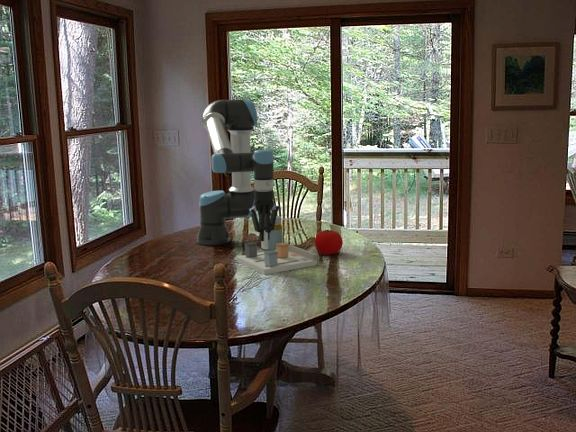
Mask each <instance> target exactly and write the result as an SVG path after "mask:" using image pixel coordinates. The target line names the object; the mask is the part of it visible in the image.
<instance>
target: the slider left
mask: <svg viewBox="0 0 576 432" xmlns="http://www.w3.org/2000/svg"><path fill="white" fill-rule="evenodd" d="M243 245H244V255H245V256H247V257H255V256H257V253H258V243H256V242H254V241H251V242H250V241H249V242H244V244H243Z"/></svg>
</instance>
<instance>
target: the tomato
mask: <svg viewBox="0 0 576 432" xmlns="http://www.w3.org/2000/svg"><path fill="white" fill-rule="evenodd" d="M314 247H315V249H316V251H317V252H318V253H319V254H321V255H324V256H329V255H334V254H337V253H339V252H340V251H341V249H342V248H343V237H342V236H341V234H340V233H339V232H338V231H335V230H334V229H332V230H330V229H325V230H322V231H319V232H318V233H317V235H316V236H315V238H314Z"/></svg>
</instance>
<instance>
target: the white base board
mask: <svg viewBox="0 0 576 432" xmlns="http://www.w3.org/2000/svg"><path fill="white" fill-rule="evenodd" d="M286 243H287V244H289V246H288V257H284V258H279V257H277V265H275V266H267V265H265V256H264V251H261V252H257V256H255V257H247V256H245V254H244V255H238V256H236V257H235V261H236V263H239V264H241V265H243V266H246V267H247V268H249V269H251V270H254V271H255V272H258V273H260V274H262V275H263V276H265V275H270V274H277V273H281V272H286V271H292V270H297V269H301V268H302V269H303V268H308V267H313V266H317V265H318V254H316V253H314V252H312V251H309V250H306V249H303V248H300V247H298V246H295V245H293V244H290V243H288V242H286ZM274 251H276V250H274Z"/></svg>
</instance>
